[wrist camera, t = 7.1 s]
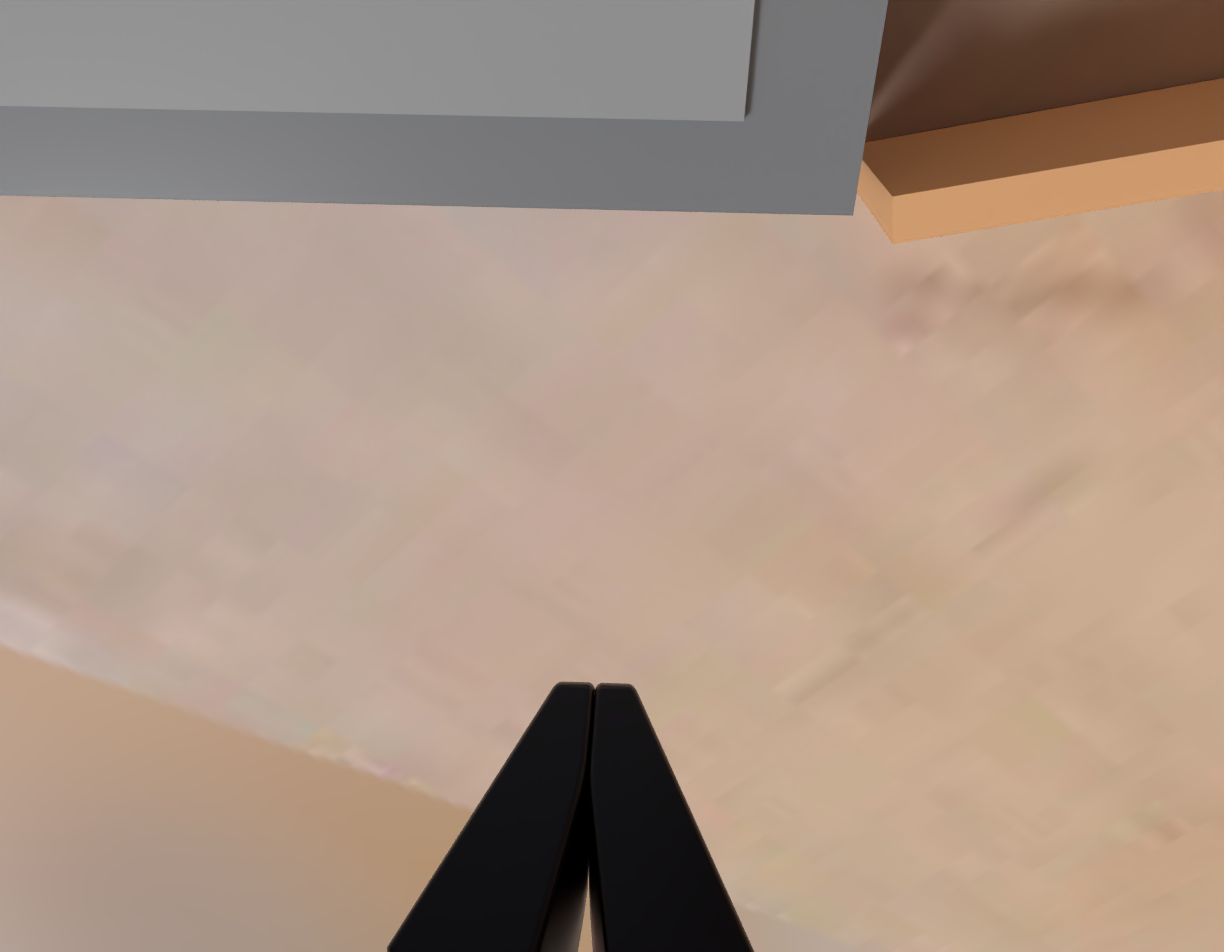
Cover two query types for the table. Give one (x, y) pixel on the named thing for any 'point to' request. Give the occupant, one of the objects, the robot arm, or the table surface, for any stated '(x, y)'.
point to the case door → (1047, 163)
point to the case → (442, 102)
